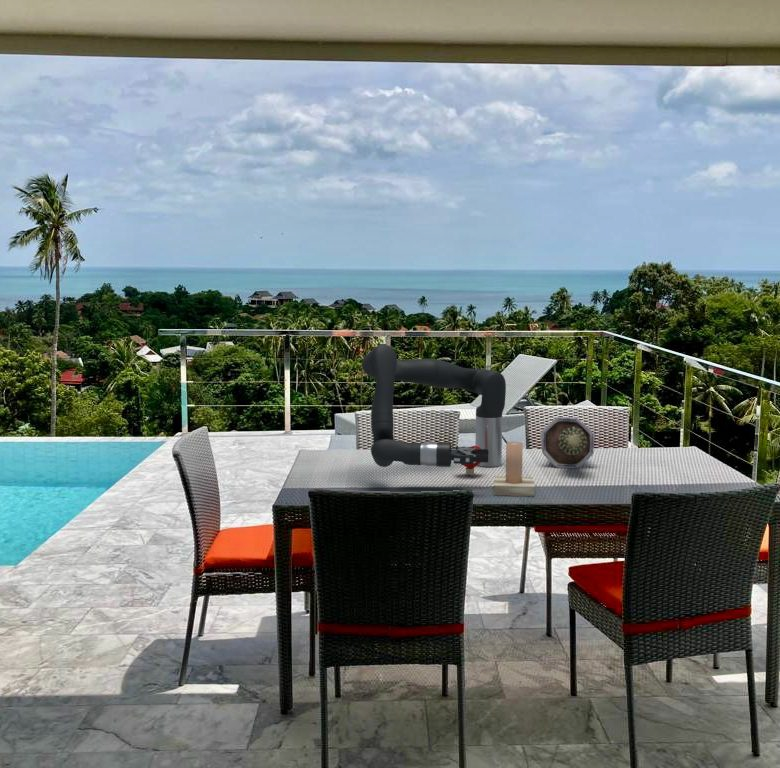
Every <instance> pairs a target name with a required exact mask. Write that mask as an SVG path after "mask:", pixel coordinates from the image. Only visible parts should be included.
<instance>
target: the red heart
mask: <svg viewBox="0 0 780 768" xmlns="http://www.w3.org/2000/svg"><path fill="white" fill-rule="evenodd" d="M471 447H474V448H476V450H477V449H481V448H480V447H478V446H475V445H473V446H471ZM466 451H467V450H466ZM480 463H481V462H476V463H473V464H472V465H471V464H460V465H461V466H463V467H465V475H467V476H468V477H472V476H473V475H475V468H476V467H478V465H479V464H480Z"/></svg>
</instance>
